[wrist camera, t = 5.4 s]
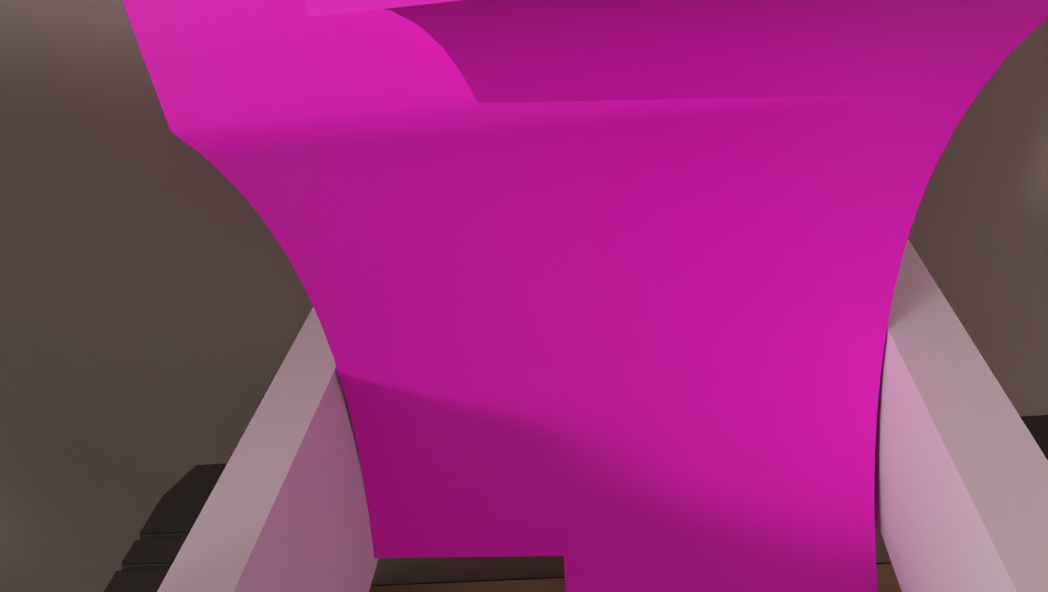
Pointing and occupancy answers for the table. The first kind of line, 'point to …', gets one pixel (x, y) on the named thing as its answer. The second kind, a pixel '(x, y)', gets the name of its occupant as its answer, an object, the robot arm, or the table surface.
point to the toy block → (596, 255)
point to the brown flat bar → (555, 588)
